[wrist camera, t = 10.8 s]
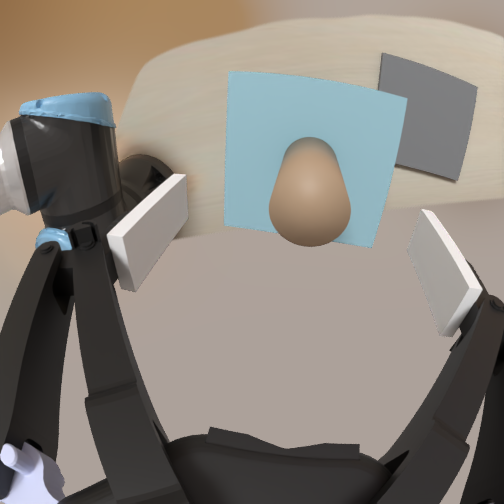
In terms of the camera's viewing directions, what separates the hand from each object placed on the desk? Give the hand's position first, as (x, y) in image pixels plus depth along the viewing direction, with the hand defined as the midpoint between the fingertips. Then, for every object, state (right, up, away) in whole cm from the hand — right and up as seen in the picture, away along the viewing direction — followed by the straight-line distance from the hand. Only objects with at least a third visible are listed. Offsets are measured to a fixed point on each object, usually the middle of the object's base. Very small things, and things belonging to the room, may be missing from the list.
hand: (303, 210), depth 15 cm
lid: (+2, +6, +8) cm, 10 cm away
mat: (+22, +17, +18) cm, 33 cm away
